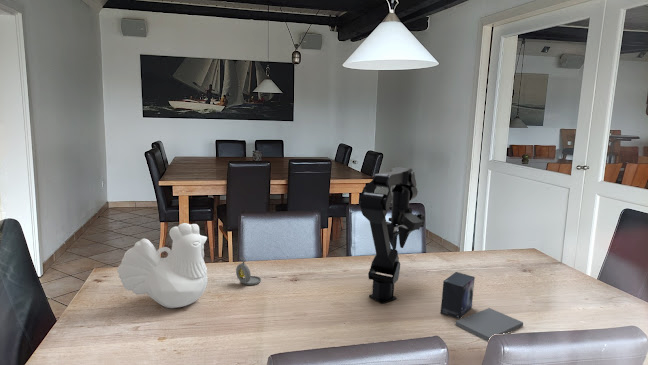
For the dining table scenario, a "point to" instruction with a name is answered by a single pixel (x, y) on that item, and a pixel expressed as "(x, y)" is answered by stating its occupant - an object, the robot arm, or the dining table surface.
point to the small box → (457, 295)
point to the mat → (488, 323)
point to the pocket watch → (246, 274)
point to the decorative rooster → (167, 268)
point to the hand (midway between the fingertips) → (398, 248)
